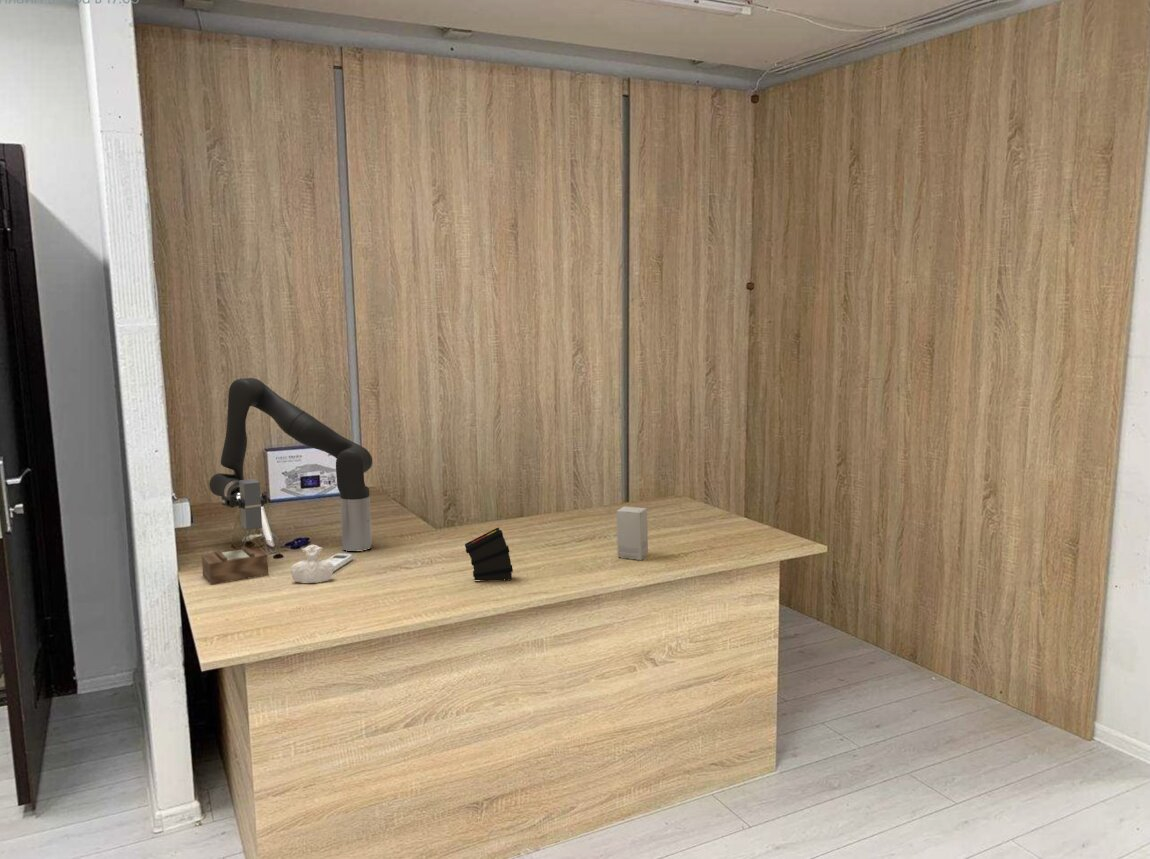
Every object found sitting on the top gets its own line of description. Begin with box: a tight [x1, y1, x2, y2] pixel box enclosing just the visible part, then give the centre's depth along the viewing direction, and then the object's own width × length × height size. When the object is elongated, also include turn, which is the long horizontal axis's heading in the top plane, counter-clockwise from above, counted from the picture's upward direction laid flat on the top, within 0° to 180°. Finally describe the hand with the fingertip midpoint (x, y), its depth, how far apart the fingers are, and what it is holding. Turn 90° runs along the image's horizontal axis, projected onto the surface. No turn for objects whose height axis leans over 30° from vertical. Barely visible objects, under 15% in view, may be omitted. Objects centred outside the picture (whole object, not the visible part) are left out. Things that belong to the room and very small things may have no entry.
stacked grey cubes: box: [239, 478, 263, 531], centre depth 264 cm, size 6×5×14 cm
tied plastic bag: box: [290, 544, 335, 584], centre depth 253 cm, size 12×8×11 cm
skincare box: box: [616, 505, 649, 561], centre depth 275 cm, size 8×7×16 cm
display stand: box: [201, 545, 269, 585], centre depth 258 cm, size 16×10×7 cm, turn 125°
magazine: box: [464, 527, 514, 581], centre depth 253 cm, size 4×13×15 cm, turn 98°
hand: (252, 504), depth 262 cm, fingers closed on stacked grey cubes, 4 cm apart
